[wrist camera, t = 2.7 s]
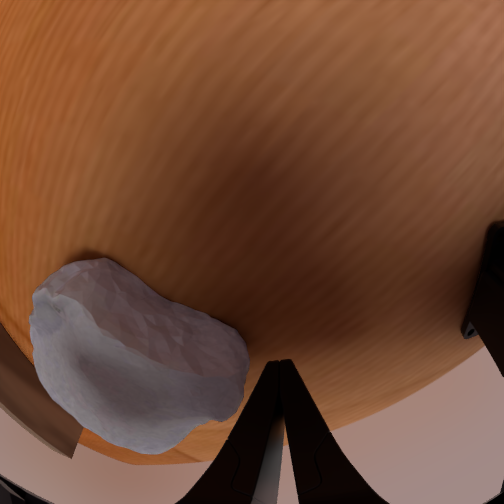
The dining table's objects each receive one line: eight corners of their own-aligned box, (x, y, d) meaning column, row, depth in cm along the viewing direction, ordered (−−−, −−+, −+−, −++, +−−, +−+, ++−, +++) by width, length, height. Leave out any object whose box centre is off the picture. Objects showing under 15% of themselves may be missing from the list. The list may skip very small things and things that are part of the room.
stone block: (63, 337, 16) (171, 421, 16) (23, 375, 11) (145, 471, 12) (100, 202, 11) (274, 336, 12) (19, 234, 7) (253, 425, 7)
